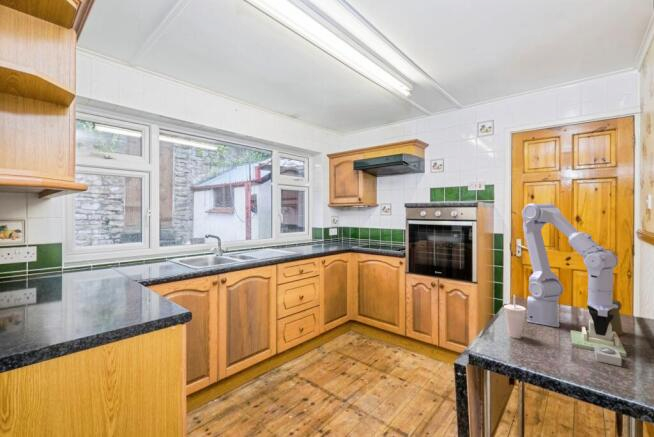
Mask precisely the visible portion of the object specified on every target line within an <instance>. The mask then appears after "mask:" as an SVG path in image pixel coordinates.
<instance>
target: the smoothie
mask: <svg viewBox="0 0 654 437" xmlns="http://www.w3.org/2000/svg"><path fill="white" fill-rule="evenodd" d="M512 302H513V304H512V303H510V304H508V303H507V304H505V305H504V306H503V310H504V314H505V321H506V328H507V335H508V337H510V338H513V339H521V338H522V334H523V329H524V328H523V327H524V320H525V316H526V314H527V308H526V307H524V306H522V305H519V304H516V294H513V301H512Z"/></svg>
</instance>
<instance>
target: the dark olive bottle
mask: <svg viewBox="0 0 654 437" xmlns="http://www.w3.org/2000/svg"><path fill="white" fill-rule="evenodd" d="M612 304H615V305H617V306H618V308H612V309H611V311H610V313H609V314H612V315H614V317H613V319H612V320H611V321H610V323H611V326H612V332H616V334H617V336H622V335H623V334H624V332H623V326H622V320H621V313H620V310H622V302H620V301H619V300H617V299H614V298H613V299H612Z"/></svg>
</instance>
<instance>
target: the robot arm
mask: <svg viewBox="0 0 654 437" xmlns="http://www.w3.org/2000/svg"><path fill="white" fill-rule="evenodd" d="M521 215H522V216H521V217H522V220H523V222H522V230H523V234H524V238H525V241H526V242H525V243H526V247H527V251H528V254H529V259H530V263H531V267H532V271H533V272H532V273H531V275H530V276H529V278H528V281H529V285H528V291H529V293H530V296H529V295H528V296H527V300H526V302H527V305H526V307H527V308H526V318H527V319H526V322H527V323H532V324H537V325H541V326H542V325H544V326H548V327H554V328H560V320H559V317H558V316H559V313H558V312H559V299H560V296H561V295H562V294H563V293H564V287H563V285H562V284H563V283H561V282H560V279H559V277H558V275H557V274H556V273H554V272H553V271H552V269H551V265H550V262H549V258H548V253H547V249H546V246H545V242H544V238H543V233H542V229H543V228H544V226H545V225H547V224H548V223H549V224H551V225H552V226H553V227H555V228H556V229H557V230H559V232H561V233H562V234H563V235H565V237H567V238H568V244H569V245H570V247H572V248H573V249H574V250H575V251H576V252H577V254H579V255H580V256H581V257H582V258H583V264H584V266H585V267H586V269H587V271H586V272H587V274H588V276H587V277H588V280H587V281H588V282H587V283H588V284H587V296H588V297H587V301H586V304H587V306H586V307H587V309H588V314H589V315H590V317H591V319H593V323H594V328H595V332H596V334H597V335H603V336H605V335H606V332H607V328H608V325H609V323H610V321H611V320H612V319H613V317H614V315H612V314H609V313H610V311H611V309H612V308H618V306H617V305H615V304H612V299H614V298H613V294H614V293H613V289H614V287H613V286H614V282H613V280H614V268H615V267H617V266H618V263H619V259H618V256H617V255H616V253H615V252H614V251H612V250H609V249H605V248H604V247H603V246H602V245H600V244H599V243H597V242H596V241H595V240H594V239H593V238H592V235H591V234H590V233H586V232H579V230H577V228H576V227H575V226H574V225H573V224H572V223H571V222H570V221H569V220H568V219H567V218H566V217H565V216H564V215H563V214H562V212H561V209H560V208H558V207H557V206H556V205H555V204H554V203H552V202H546V203H533V202H531V203H528V204H526V205H525V206H524V207H523V209H522V210H521Z"/></svg>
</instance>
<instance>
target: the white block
mask: <svg viewBox="0 0 654 437" xmlns="http://www.w3.org/2000/svg"><path fill="white" fill-rule="evenodd" d="M588 331H589V337H591V338H597V339H602V340H608V341H612V326H611V323H609V325H608V328H607V332H606V335H605V336H603V335H597V334H596V332H595V328H594V323H593V319H592V318H588Z"/></svg>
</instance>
